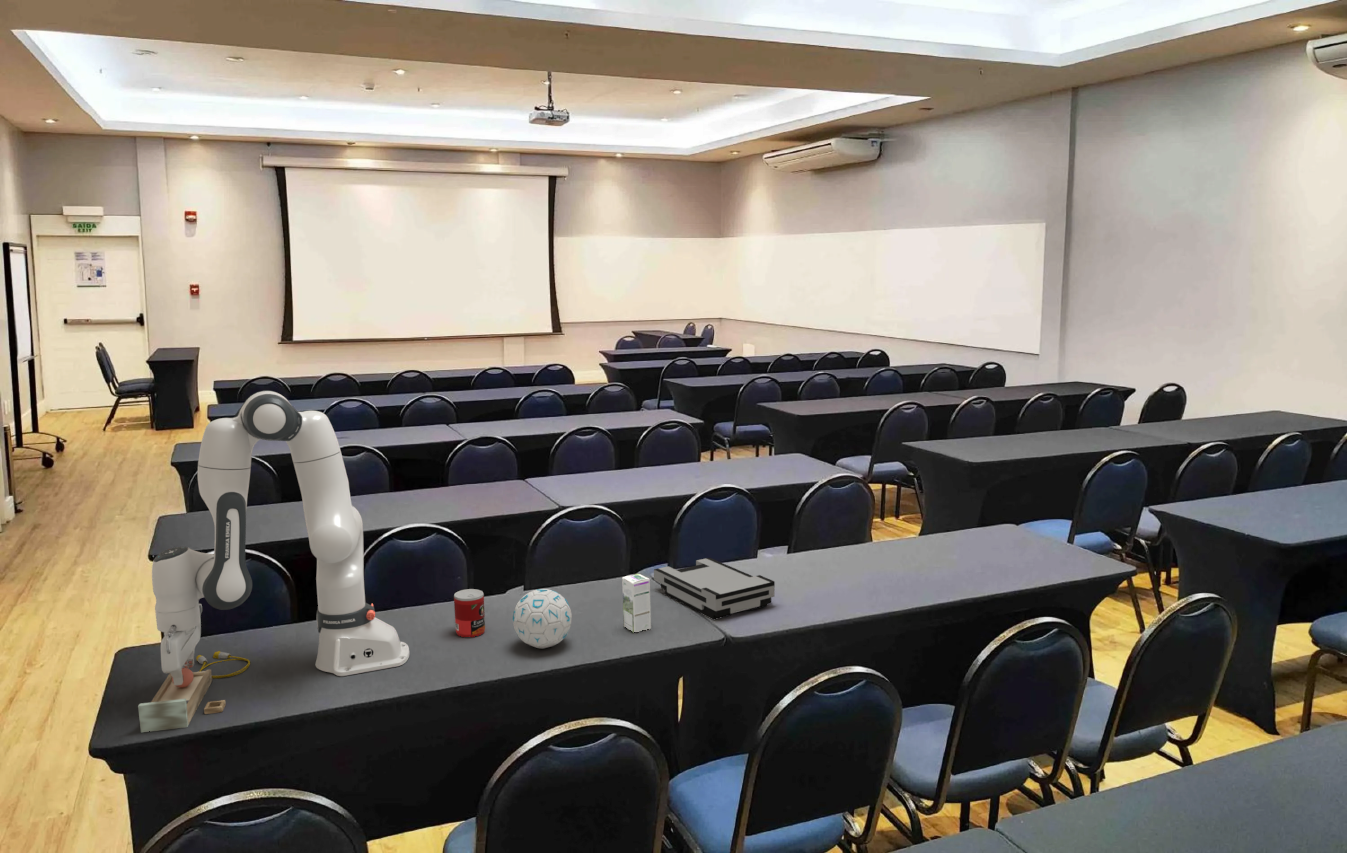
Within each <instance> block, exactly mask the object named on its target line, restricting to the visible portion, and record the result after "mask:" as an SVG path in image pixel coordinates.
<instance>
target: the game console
mask: <svg viewBox="0 0 1347 853" xmlns="http://www.w3.org/2000/svg"><path fill="white" fill-rule="evenodd" d="M653 580H654V581H655V582H657V583H659V584H660V588H661V589H663V590H665V591H664V593H665V594H664V595H665V596H668V597H669V598H671V599H673V600H675V601H677V602H679V603H681V604H683V605H684V606H686V607H688V608H690V609H692V610H693V611H696V612H698V613H699V614H701V613H702V615H703V614H704V615H703V616H705V615H706V617H707V618H709V617H710V618H709V619H711V618H712V619H711V620H713V621H714V619H715V620H717V619H716V618H718V619H721V618H720V617H722V618H727V617H729V616H732V614H734V613H737V612H742V611H747V610H750V611H753V610H756V609H757V610H758V609H761V608H764V607H767V606H768V605H769V604H772V598H773V597H775V592H776V591H775V584H776V582H775V581H774V580H773V579H770V578H768V577H765V576H763V575H760V574H758V575H755V576H753V575H751V574H749V573H746V572H744V571H742V570H739V569H738V568H735V567H733V566H730V565H728V564H726V563H723V562H721V561H719V560H716V559H714V558H711V557H706V558H703V559H702V558H701V559H697V560H695V565H693V566H688V567H683V568H678V569H676V568H673V567H671V566H662V567H659V568H654V569H653Z"/></svg>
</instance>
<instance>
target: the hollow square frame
mask: <svg viewBox="0 0 1347 853" xmlns="http://www.w3.org/2000/svg"><path fill="white" fill-rule="evenodd" d="M226 705H227V703H226V699H221V700H212V701H207V703H206V704H205V706H204V708H203V711H204V715H209V714H218V713H223V711H224V710H225V707H226Z"/></svg>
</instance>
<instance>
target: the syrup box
mask: <svg viewBox="0 0 1347 853" xmlns="http://www.w3.org/2000/svg"><path fill="white" fill-rule="evenodd" d="M621 580H622V586H621V588H622V589H621V590H622V617H623V618H622V620H623V621H622V622H623V628H624V627H626V628H627V629H626V628H625V629H626V630H628V631H629V630H631V631H632V632H631V631H630V632H631V633H633V634H635V633H634V632H639V631H642V630H646V631H648V630H647V629H649V630H651V629H652V619H651V617H652V614H651V610H652V608H651V580H650V578H649V577H646V576H644V575H642V574H641V573H633V574H628V575H626V576H622V577H621ZM639 633H640V632H639Z"/></svg>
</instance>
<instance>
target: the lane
mask: <svg viewBox="0 0 1347 853" xmlns="http://www.w3.org/2000/svg"><path fill="white" fill-rule="evenodd" d="M192 673H193V676H194V677H193V681H192V682H191V684H190V685H188V686H186V687H183V688H180V687H177V686H175V685H174V684H173V682H172V675H171V673H168V675H167V677H166V678H165V680H164V681H163V683H162V684H161V686H160V687H159V689H158V691H157V692H156V693H155V695H154V697H153V698H152V700H151V701H150V702H143V703H139V704H138V706H137V708H138V716H139V717H138V718H139V719H138V720H139V726H140V727H139V728H140V733H147V732H149V731H150V732H157V731H166V730H174V729H183V728H185V729H186V728H188V727H189V725H190V723H191V721H192V719H193V717H194V716H195V714H196V712H197V710H198V709H199V706H200V705H201V703H202V701H203V699H204V697H205V696H206V694H207V692H208V690H209V688H210V686H211V684H212V683H213V678H212V676H213V675H212V674H213V673H212V669H210V668H209V669H206V670H201V671H200V672H199V671H192Z"/></svg>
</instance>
